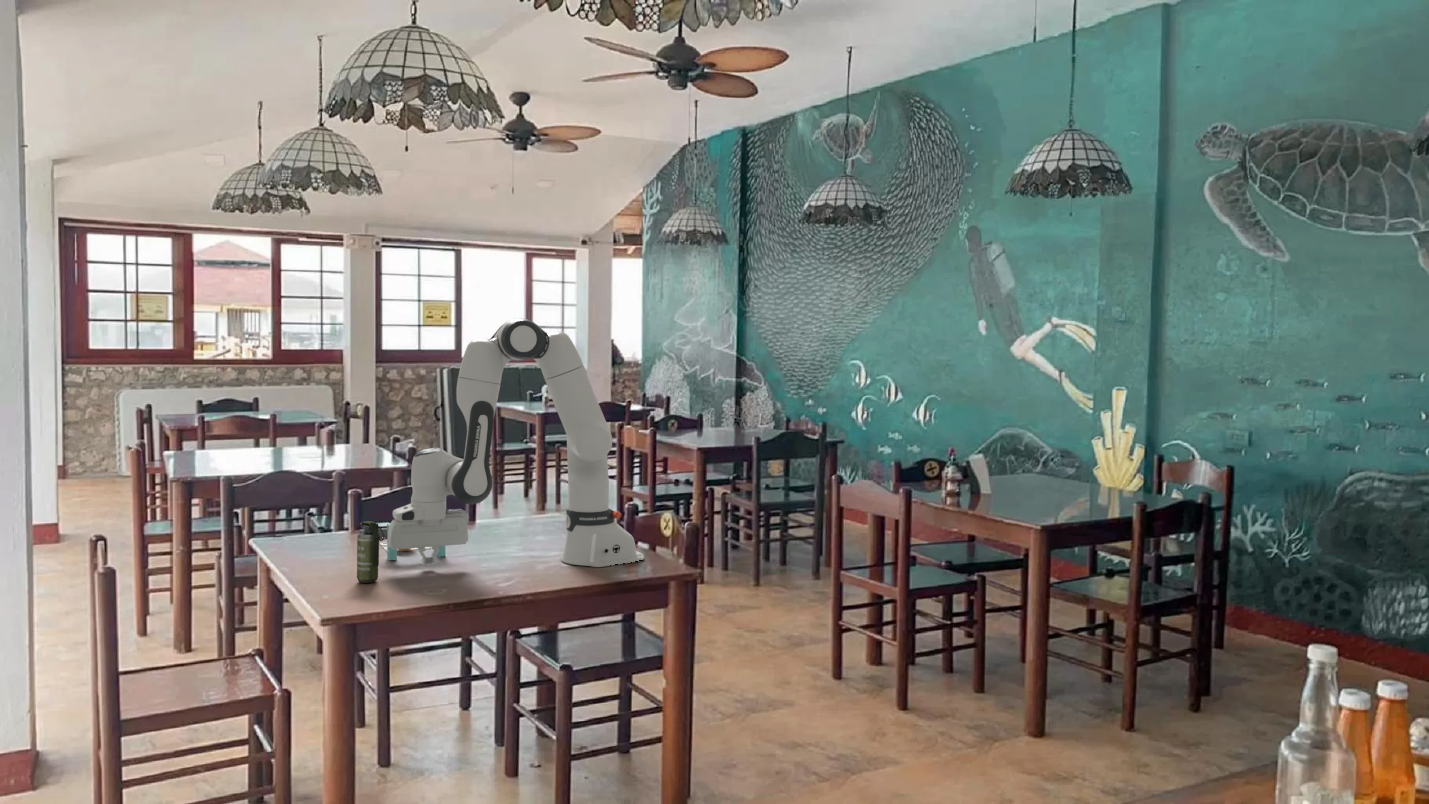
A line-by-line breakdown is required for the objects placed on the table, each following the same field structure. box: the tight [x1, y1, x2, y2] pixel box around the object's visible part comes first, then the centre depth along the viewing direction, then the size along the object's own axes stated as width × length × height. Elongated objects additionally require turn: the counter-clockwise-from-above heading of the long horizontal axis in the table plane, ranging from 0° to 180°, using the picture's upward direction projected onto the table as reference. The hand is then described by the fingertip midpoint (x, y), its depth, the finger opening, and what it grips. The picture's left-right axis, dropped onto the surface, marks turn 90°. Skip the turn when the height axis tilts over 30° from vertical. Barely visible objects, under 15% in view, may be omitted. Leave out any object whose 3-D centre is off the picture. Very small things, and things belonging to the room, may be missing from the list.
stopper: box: [358, 527, 387, 539], centre depth 325 cm, size 20×2×2 cm, turn 117°
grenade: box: [356, 520, 385, 584], centre depth 269 cm, size 6×6×15 cm
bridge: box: [386, 522, 446, 561], centre depth 297 cm, size 3×15×10 cm, turn 117°
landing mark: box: [379, 542, 432, 552], centre depth 312 cm, size 12×12×1 cm
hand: (428, 563), depth 284 cm, fingers closed
